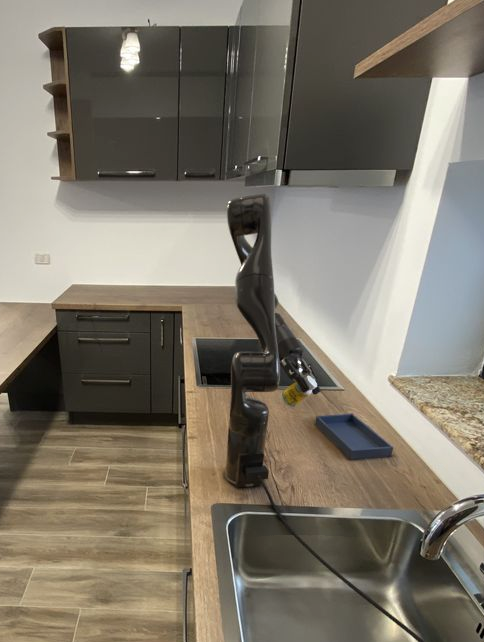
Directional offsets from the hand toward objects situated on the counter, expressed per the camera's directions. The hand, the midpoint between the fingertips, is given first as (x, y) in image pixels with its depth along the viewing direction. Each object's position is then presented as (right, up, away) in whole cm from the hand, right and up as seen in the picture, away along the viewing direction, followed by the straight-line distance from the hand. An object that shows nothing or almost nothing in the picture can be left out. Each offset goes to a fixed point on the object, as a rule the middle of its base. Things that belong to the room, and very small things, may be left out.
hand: (312, 391), depth 123 cm
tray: (+14, -14, +9) cm, 22 cm away
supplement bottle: (-6, -3, +6) cm, 9 cm away
